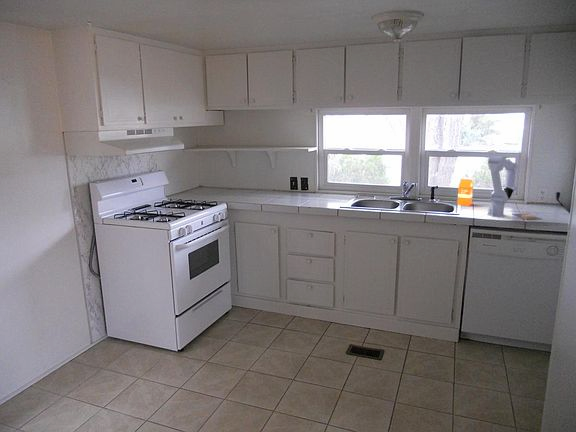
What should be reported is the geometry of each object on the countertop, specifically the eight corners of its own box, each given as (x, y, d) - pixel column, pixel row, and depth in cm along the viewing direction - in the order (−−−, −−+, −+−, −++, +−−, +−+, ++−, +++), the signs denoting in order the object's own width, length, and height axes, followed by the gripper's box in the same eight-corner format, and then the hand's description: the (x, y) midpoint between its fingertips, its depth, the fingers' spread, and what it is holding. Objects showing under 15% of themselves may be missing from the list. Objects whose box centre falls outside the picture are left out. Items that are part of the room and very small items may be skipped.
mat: (525, 220, 294) (525, 219, 294) (511, 214, 310) (511, 214, 310) (542, 219, 295) (542, 219, 295) (527, 214, 311) (527, 213, 311)
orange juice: (460, 202, 353) (462, 178, 348) (471, 204, 347) (473, 179, 343) (457, 204, 347) (459, 179, 342) (468, 205, 341) (470, 180, 337)
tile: (520, 217, 300) (525, 219, 294) (520, 214, 300) (526, 216, 294) (528, 217, 301) (534, 219, 295) (529, 214, 300) (534, 216, 294)
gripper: (521, 180, 305) (519, 200, 309) (509, 177, 319) (507, 196, 323) (511, 181, 305) (509, 200, 308) (500, 178, 319) (498, 196, 322)
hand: (508, 198), depth 315 cm, fingers closed
